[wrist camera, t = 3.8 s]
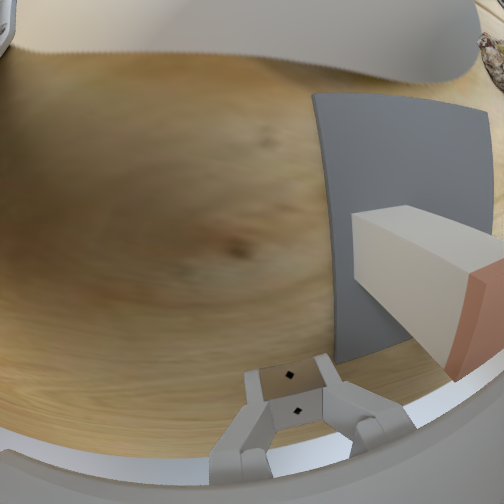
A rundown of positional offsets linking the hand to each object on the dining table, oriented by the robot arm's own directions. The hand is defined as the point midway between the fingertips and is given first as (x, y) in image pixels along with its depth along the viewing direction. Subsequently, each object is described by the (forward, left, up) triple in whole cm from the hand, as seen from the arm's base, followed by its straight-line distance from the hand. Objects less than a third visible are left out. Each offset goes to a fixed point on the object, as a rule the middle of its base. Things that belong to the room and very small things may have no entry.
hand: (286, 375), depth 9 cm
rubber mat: (0, +16, -11) cm, 19 cm away
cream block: (0, +10, -10) cm, 14 cm away
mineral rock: (-19, +33, -11) cm, 40 cm away
